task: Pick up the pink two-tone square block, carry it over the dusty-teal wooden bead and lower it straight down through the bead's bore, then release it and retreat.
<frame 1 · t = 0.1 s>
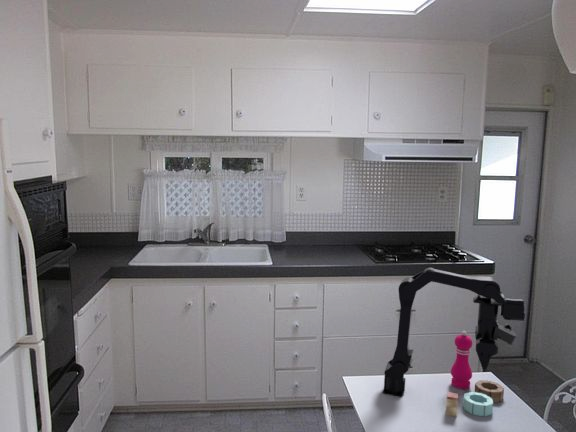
hand: (484, 364, 153), 15 cm above the table, fingers open, 9 cm apart
pink two-tone square block: (451, 413, 150), on the table
pepper mill: (460, 385, 170), on the table
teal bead: (477, 408, 153), on the table
walnut bead: (488, 395, 162), on the table
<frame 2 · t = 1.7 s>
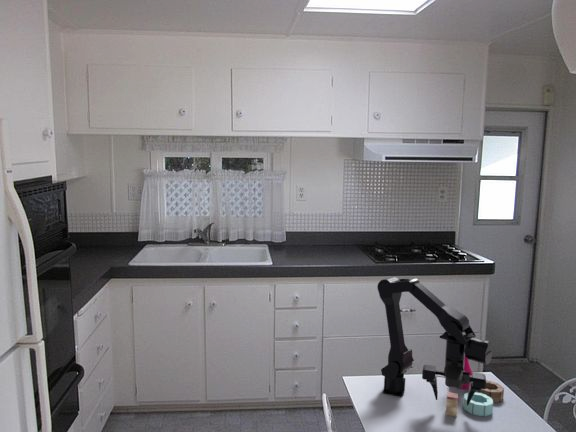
hand: (451, 402, 150), 4 cm above the table, fingers open, 9 cm apart
nothing on the table moved.
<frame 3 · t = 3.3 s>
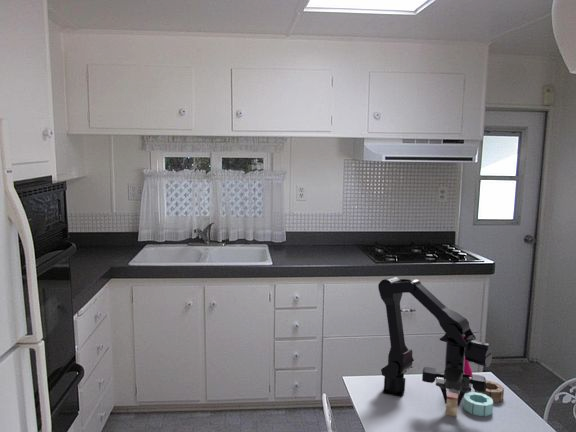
hand: (451, 404, 150), 3 cm above the table, fingers closed on pink two-tone square block, 3 cm apart
pink two-tone square block: (451, 413, 150), on the table, touching gripper
everything else where it was.
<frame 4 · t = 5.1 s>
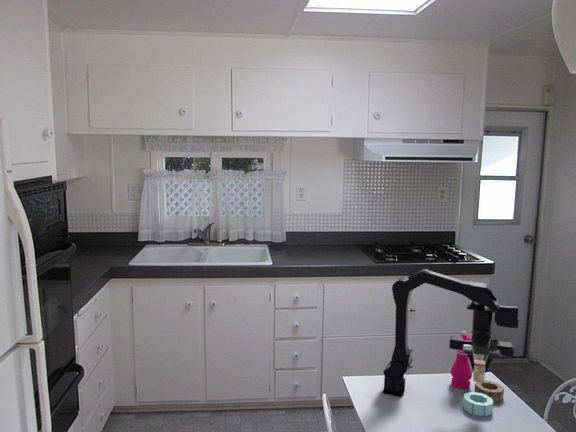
hand: (479, 371, 151), 13 cm above the table, fingers closed on pink two-tone square block, 3 cm apart
pink two-tone square block: (478, 380, 151), point 10 cm above the table, touching gripper
everything else where it was.
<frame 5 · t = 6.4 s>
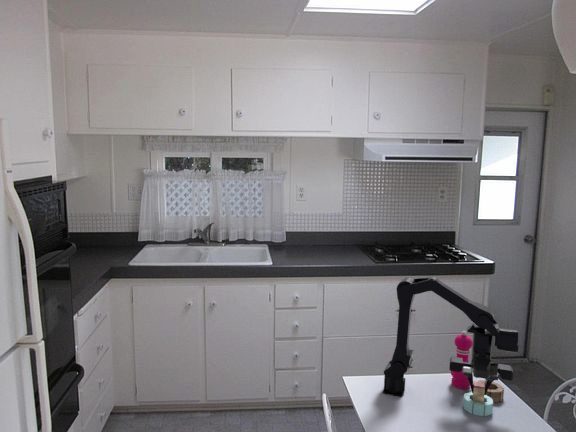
hand: (478, 393, 152), 5 cm above the table, fingers closed on pink two-tone square block, 3 cm apart
pink two-tone square block: (477, 402, 153), point 2 cm above the table, touching gripper
everything else where it was.
when the fingers open (5 cm above the table, at t = 7.1 s): pink two-tone square block drops 2 cm, resting in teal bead.
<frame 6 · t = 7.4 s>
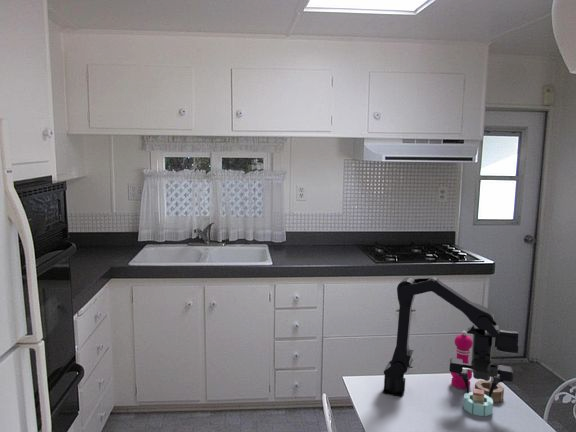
hand: (478, 394, 152), 5 cm above the table, fingers open, 6 cm apart
pink two-tone square block: (477, 409, 153), resting in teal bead
everything else where it was.
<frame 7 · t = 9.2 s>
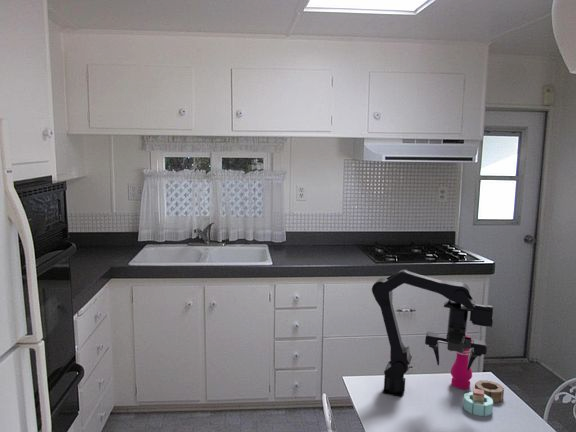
hand: (452, 367, 156), 12 cm above the table, fingers open, 9 cm apart
nothing on the table moved.
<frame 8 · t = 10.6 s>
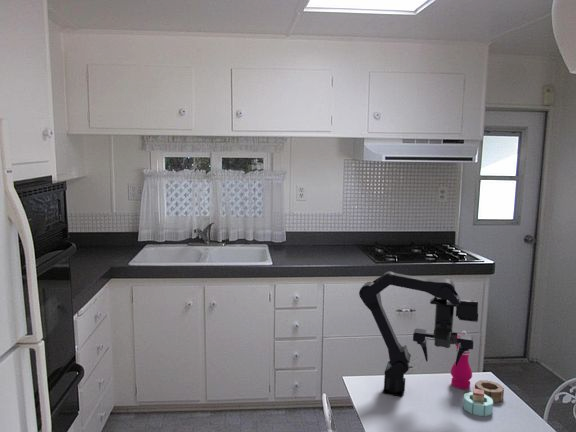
hand: (441, 363, 157), 13 cm above the table, fingers open, 9 cm apart
nothing on the table moved.
at the end: pink two-tone square block 0.1 cm off-centre on the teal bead, point 0.0 cm above the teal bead's base; pink two-tone square block tilted 0°; the gripper is holding nothing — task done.
